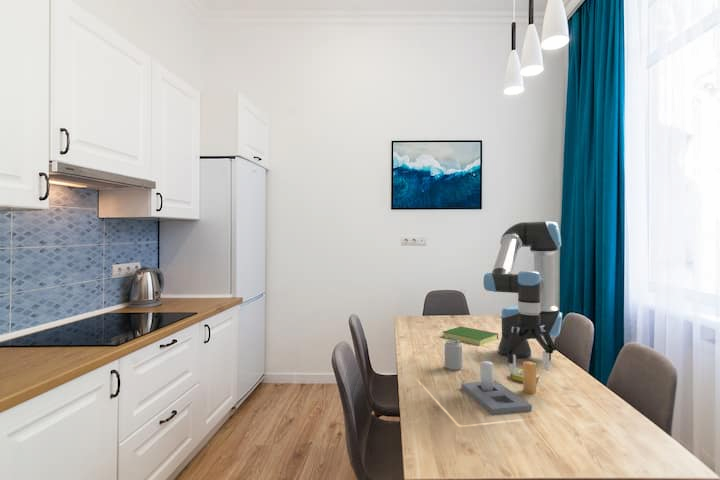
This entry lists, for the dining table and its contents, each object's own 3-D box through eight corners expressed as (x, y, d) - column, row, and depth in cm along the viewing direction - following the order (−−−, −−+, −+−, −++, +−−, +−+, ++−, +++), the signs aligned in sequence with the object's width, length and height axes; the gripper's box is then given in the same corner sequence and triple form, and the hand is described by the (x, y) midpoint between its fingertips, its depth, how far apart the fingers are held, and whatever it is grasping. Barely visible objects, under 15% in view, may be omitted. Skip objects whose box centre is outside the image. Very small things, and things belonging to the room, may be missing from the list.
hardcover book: (498, 340, 213) (498, 333, 213) (480, 346, 201) (480, 339, 201) (460, 332, 232) (460, 326, 232) (441, 337, 220) (441, 331, 220)
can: (462, 371, 162) (462, 343, 162) (444, 370, 164) (444, 342, 164) (461, 365, 170) (461, 339, 170) (444, 364, 171) (444, 338, 171)
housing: (461, 389, 143) (461, 383, 143) (495, 386, 146) (495, 380, 146) (492, 416, 121) (492, 409, 121) (531, 412, 124) (531, 405, 124)
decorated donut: (542, 380, 153) (542, 370, 153) (533, 387, 145) (533, 377, 145) (516, 373, 160) (516, 364, 160) (506, 380, 152) (506, 371, 152)
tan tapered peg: (531, 390, 142) (531, 361, 142) (539, 395, 138) (538, 364, 137) (520, 391, 141) (520, 361, 141) (528, 396, 137) (527, 365, 137)
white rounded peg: (489, 390, 141) (489, 360, 141) (495, 394, 137) (495, 364, 137) (478, 391, 140) (478, 361, 140) (484, 395, 136) (484, 365, 136)
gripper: (552, 310, 145) (552, 365, 145) (492, 312, 141) (492, 369, 140) (566, 313, 138) (566, 372, 138) (503, 316, 133) (504, 376, 133)
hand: (529, 371), depth 139 cm, fingers open, 13 cm apart
